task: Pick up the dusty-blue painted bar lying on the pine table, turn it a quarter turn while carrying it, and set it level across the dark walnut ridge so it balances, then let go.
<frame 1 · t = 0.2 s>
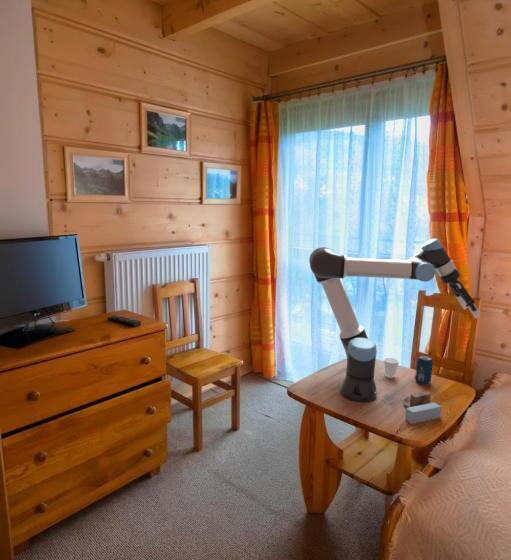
hand: (472, 312, 186), 36 cm above the table, tool tilted 35°, fingers open, 13 cm apart
cup: (387, 375, 206), on the table
ridge stand: (419, 408, 174), on the table
bar: (422, 419, 166), on the table
soda can: (422, 382, 199), on the table
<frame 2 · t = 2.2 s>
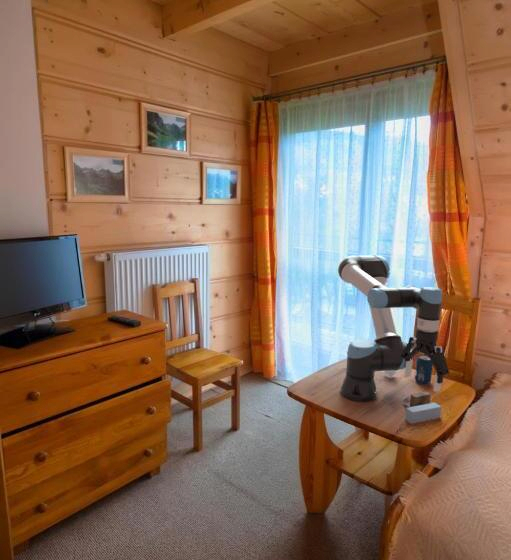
hand: (421, 383, 161), 15 cm above the table, tool pointing down, fingers open, 13 cm apart
nothing on the table moved.
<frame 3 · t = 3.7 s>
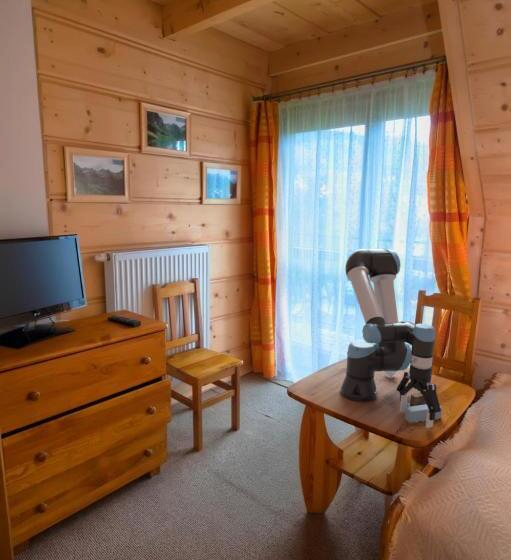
hand: (415, 418, 164), 1 cm above the table, tool pointing down, fingers open, 13 cm apart
nothing on the table moved.
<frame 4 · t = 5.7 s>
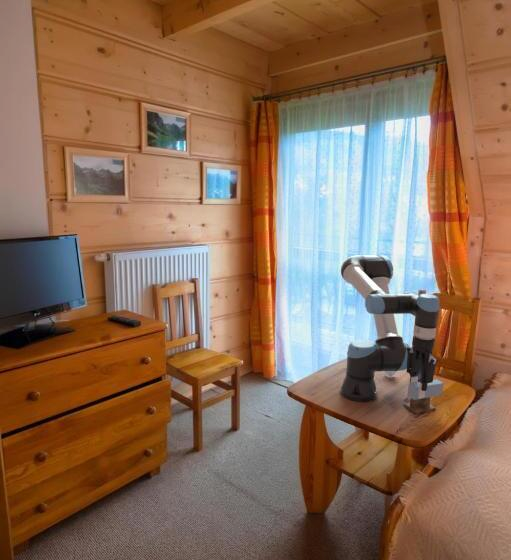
hand: (416, 394, 163), 10 cm above the table, tool pointing down, fingers closed on bar, 3 cm apart
bar: (424, 395, 164), point 9 cm above the table, touching gripper
everything else where it was.
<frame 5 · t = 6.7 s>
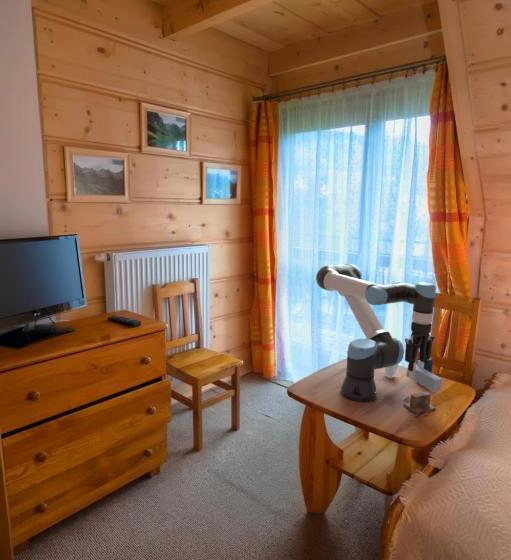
hand: (415, 377, 174), 12 cm above the table, tool pointing down, fingers closed on bar, 3 cm apart
bar: (422, 383, 170), point 12 cm above the table, touching gripper
everything else where it was.
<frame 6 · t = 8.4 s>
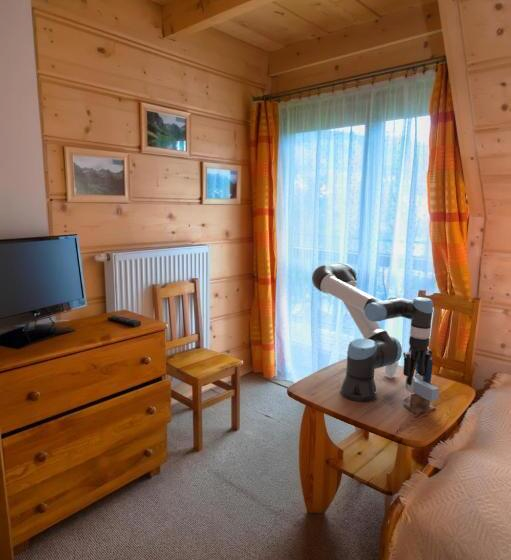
hand: (414, 390, 176), 6 cm above the table, tool pointing down, fingers closed on bar, 3 cm apart
bar: (421, 394, 173), point 6 cm above the table, touching gripper, ridge stand
everything else where it was.
when the fingers open (5 cm above the table, at t = 8.9 s): bar stays where it is, resting on ridge stand.
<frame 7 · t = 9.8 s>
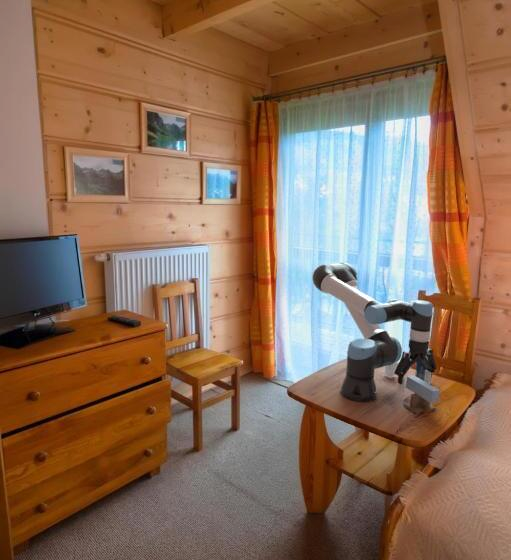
hand: (413, 388, 176), 7 cm above the table, tool pointing down, fingers open, 13 cm apart
bar: (421, 394, 173), point 6 cm above the table, touching ridge stand
everything else where it was.
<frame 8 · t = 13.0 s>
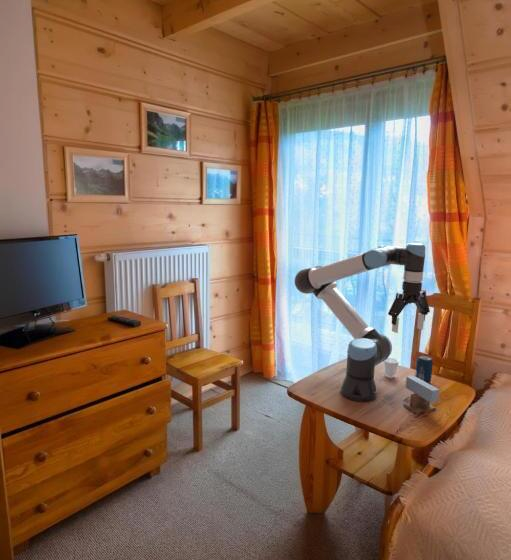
hand: (407, 330, 181), 29 cm above the table, tool pointing down, fingers open, 13 cm apart
nothing on the table moved.
at the end: bar 0.2 cm off-centre on the ridge stand, point 6.0 cm above the ridge stand's base; bar tilted 0°; the gripper is holding nothing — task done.
